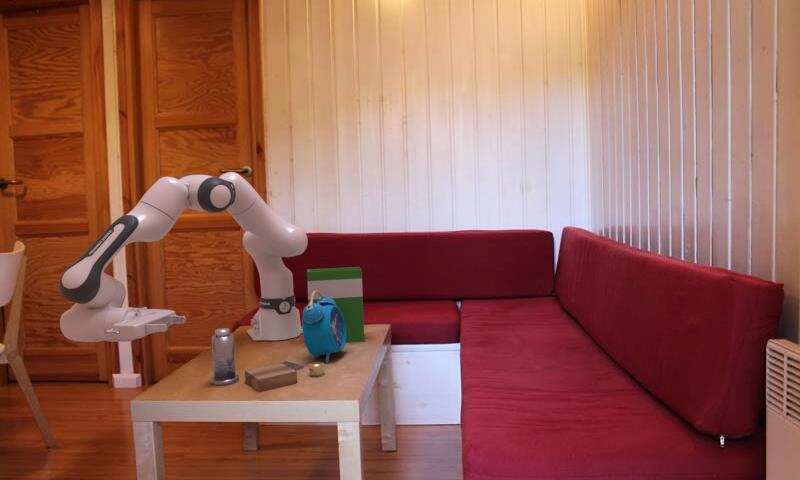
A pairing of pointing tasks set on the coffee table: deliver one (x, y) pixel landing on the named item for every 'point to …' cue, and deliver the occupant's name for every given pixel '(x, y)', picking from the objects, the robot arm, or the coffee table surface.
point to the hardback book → (341, 296)
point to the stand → (270, 376)
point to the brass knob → (316, 369)
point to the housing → (223, 358)
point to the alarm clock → (323, 327)
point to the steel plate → (293, 365)
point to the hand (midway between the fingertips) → (176, 323)
